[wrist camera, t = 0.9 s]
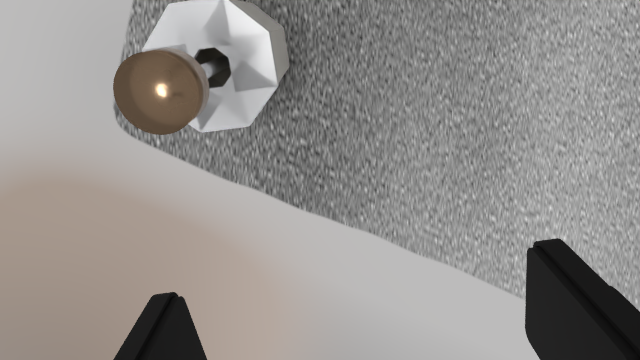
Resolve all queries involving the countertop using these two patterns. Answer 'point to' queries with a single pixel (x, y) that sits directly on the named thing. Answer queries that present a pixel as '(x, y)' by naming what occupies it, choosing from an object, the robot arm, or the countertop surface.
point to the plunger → (164, 88)
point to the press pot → (237, 44)
